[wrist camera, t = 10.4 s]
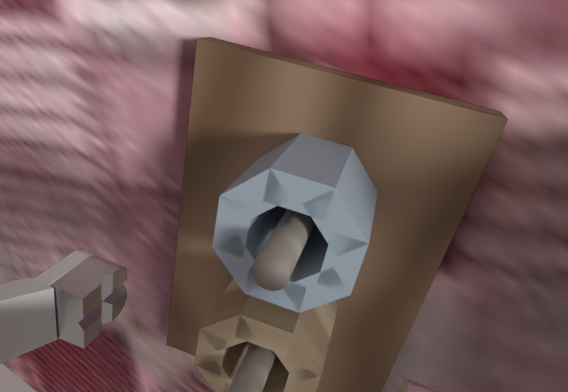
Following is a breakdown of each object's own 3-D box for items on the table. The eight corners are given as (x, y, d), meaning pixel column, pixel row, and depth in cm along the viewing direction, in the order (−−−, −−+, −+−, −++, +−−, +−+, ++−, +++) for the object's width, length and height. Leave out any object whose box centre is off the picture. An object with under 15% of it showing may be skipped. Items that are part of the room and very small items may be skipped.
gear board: (500, 111, 18) (565, 180, 11) (368, 403, 27) (352, 551, 20) (210, 37, 20) (94, 50, 13) (177, 329, 29) (98, 438, 22)
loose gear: (389, 158, 19) (383, 202, 14) (353, 262, 21) (339, 327, 17) (266, 122, 20) (225, 154, 15) (246, 227, 22) (207, 279, 18)
